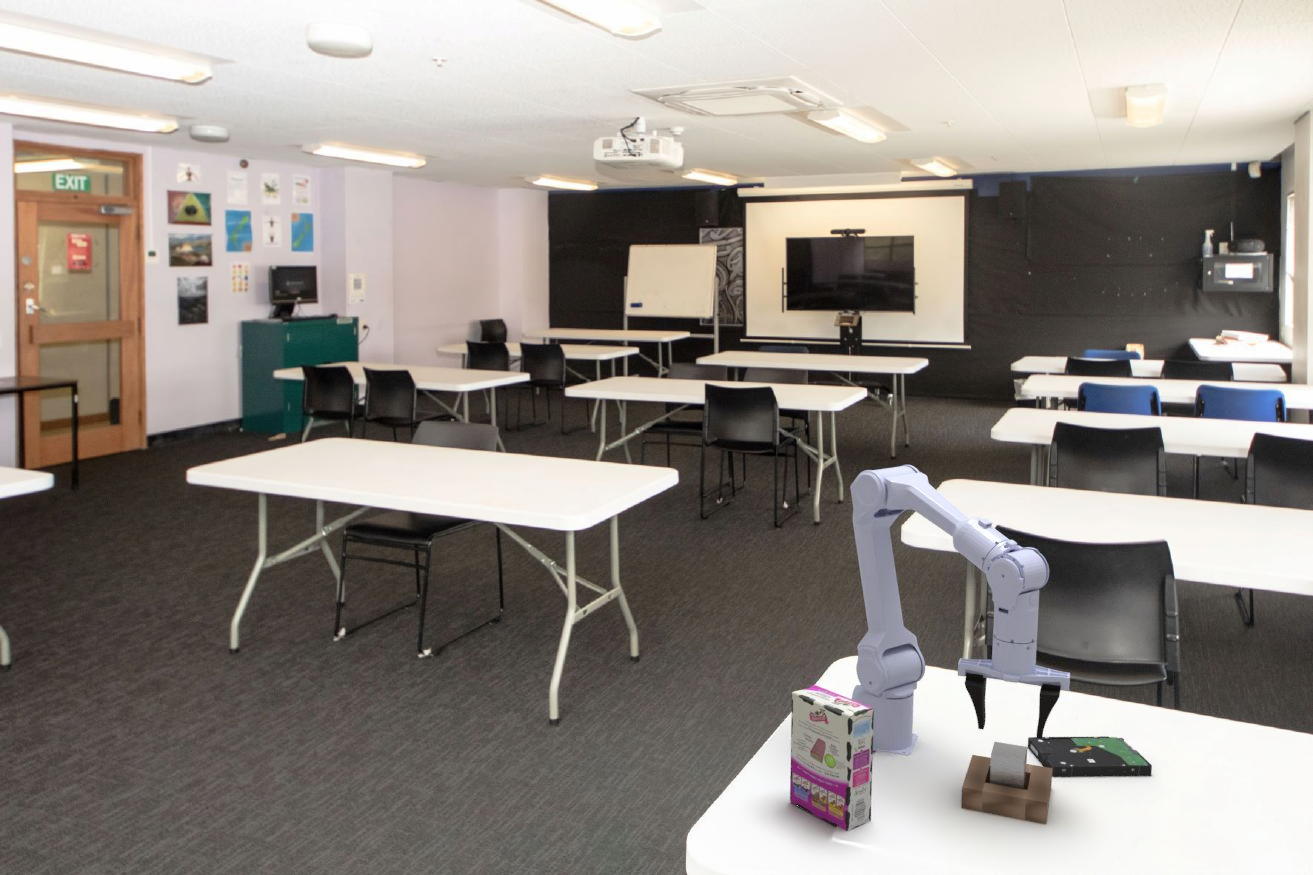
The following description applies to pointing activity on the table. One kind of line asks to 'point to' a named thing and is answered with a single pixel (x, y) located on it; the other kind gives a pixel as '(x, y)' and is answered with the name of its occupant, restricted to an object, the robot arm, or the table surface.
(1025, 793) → the pocket block
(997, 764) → the steel block
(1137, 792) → the table surface
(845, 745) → the candy bar box
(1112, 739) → the disk drive
